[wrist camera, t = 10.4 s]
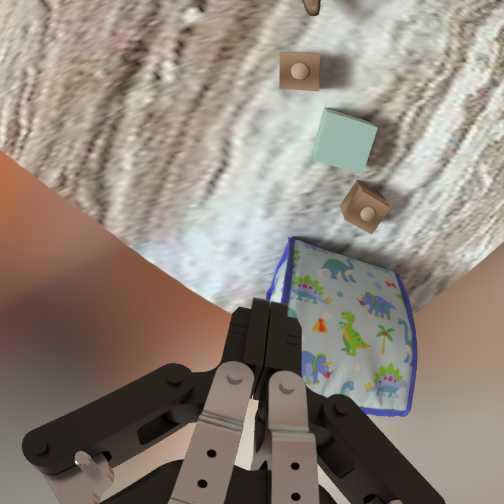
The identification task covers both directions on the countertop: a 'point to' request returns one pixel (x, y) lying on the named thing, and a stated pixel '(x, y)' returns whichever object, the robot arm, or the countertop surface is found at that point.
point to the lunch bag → (350, 327)
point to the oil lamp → (312, 7)
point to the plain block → (343, 141)
